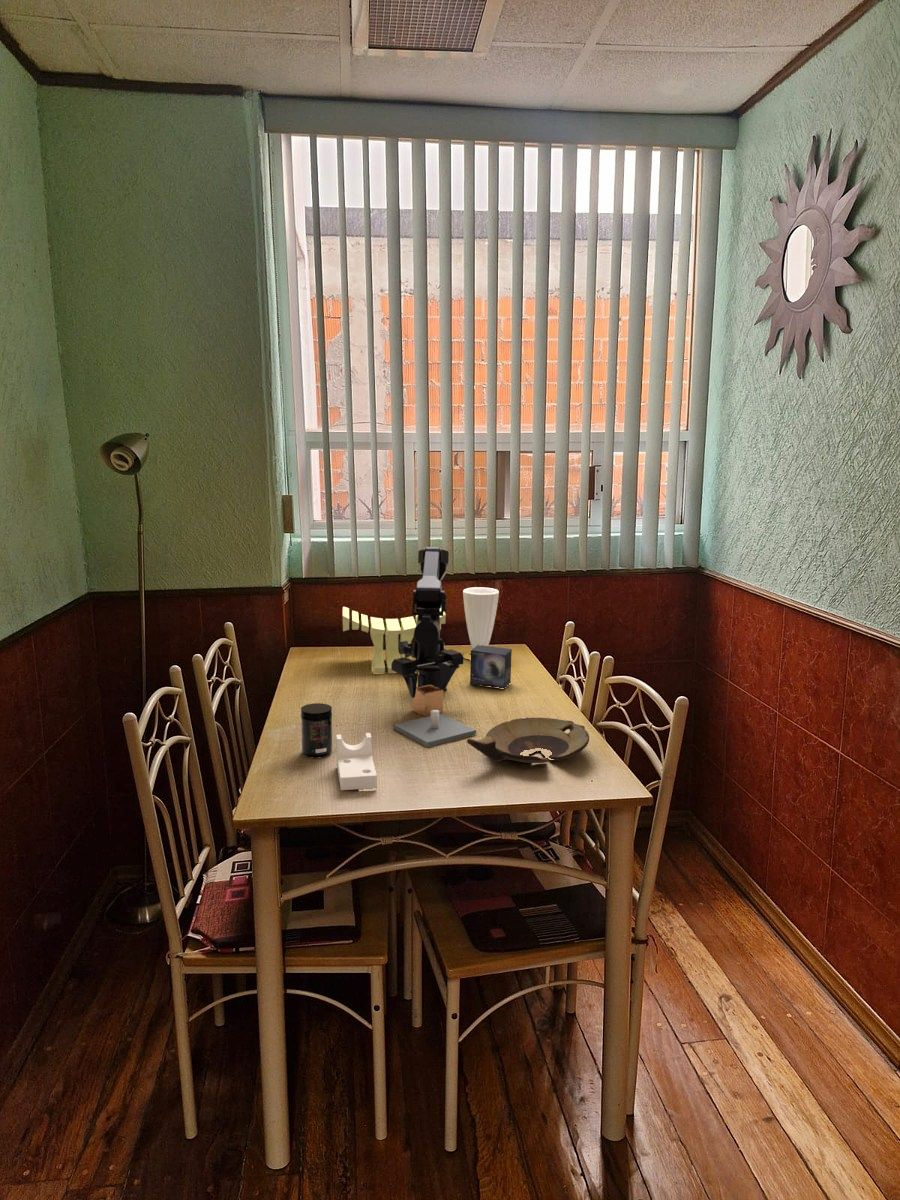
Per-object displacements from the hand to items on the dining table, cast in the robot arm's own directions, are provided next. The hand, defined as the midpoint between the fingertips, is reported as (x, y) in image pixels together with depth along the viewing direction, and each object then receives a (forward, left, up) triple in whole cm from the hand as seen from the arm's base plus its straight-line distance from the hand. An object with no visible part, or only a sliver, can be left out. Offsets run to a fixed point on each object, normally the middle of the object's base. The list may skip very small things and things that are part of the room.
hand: (427, 694), depth 206 cm
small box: (-28, -9, -5) cm, 30 cm away
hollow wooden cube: (0, 0, -5) cm, 5 cm away
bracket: (+36, +26, -5) cm, 44 cm away
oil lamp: (-1, +36, -5) cm, 36 cm away
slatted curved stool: (-15, -40, -5) cm, 43 cm away
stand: (+7, +13, -5) cm, 16 cm away
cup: (-44, -34, -5) cm, 56 cm away
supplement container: (+36, +9, -5) cm, 38 cm away
